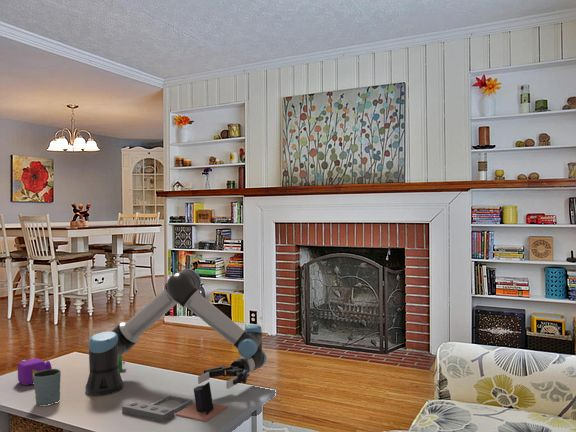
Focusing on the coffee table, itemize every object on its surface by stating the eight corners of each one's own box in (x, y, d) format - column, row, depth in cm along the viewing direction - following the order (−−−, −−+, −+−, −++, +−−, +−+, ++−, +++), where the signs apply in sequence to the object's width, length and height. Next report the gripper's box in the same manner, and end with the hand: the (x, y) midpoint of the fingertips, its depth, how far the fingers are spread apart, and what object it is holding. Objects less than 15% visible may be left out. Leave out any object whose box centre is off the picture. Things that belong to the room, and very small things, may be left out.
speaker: (218, 409, 184) (214, 381, 185) (206, 415, 180) (203, 387, 180) (204, 406, 189) (201, 379, 189) (193, 412, 185) (189, 384, 185)
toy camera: (56, 378, 226) (56, 357, 226) (27, 387, 214) (26, 365, 214) (43, 374, 232) (42, 353, 232) (13, 383, 220) (13, 361, 220)
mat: (175, 415, 182) (175, 413, 182) (198, 401, 194) (198, 400, 194) (206, 421, 175) (206, 420, 175) (227, 407, 188) (227, 406, 188)
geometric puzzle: (110, 363, 241) (109, 352, 236) (125, 361, 243) (124, 351, 238) (110, 375, 235) (109, 365, 231) (125, 373, 237) (124, 363, 233)
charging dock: (122, 412, 185) (121, 405, 185) (157, 395, 202) (157, 388, 202) (163, 422, 176) (163, 414, 176) (196, 402, 193) (196, 395, 193)
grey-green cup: (57, 406, 193) (56, 375, 193) (29, 408, 191) (28, 377, 191) (64, 396, 203) (63, 367, 203) (38, 398, 201) (37, 369, 201)
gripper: (267, 379, 204) (240, 397, 185) (218, 371, 215) (187, 387, 196) (267, 361, 204) (239, 377, 185) (218, 354, 215) (187, 369, 196)
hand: (212, 382), depth 191 cm, fingers open, 13 cm apart
